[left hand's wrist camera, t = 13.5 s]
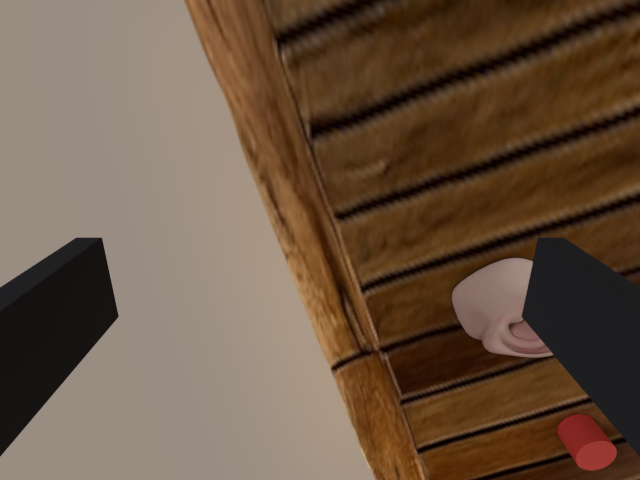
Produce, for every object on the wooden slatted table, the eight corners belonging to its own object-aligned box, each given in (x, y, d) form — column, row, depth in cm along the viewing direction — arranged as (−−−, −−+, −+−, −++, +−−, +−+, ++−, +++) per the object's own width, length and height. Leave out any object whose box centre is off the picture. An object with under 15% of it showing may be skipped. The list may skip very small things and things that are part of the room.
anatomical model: (443, 327, 42) (530, 246, 38) (433, 306, 45) (512, 231, 42) (528, 392, 45) (616, 322, 41) (512, 368, 48) (592, 302, 45)
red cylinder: (549, 433, 53) (567, 462, 49) (573, 408, 51) (594, 435, 47) (577, 446, 53) (597, 475, 49) (602, 422, 52) (625, 449, 48)
